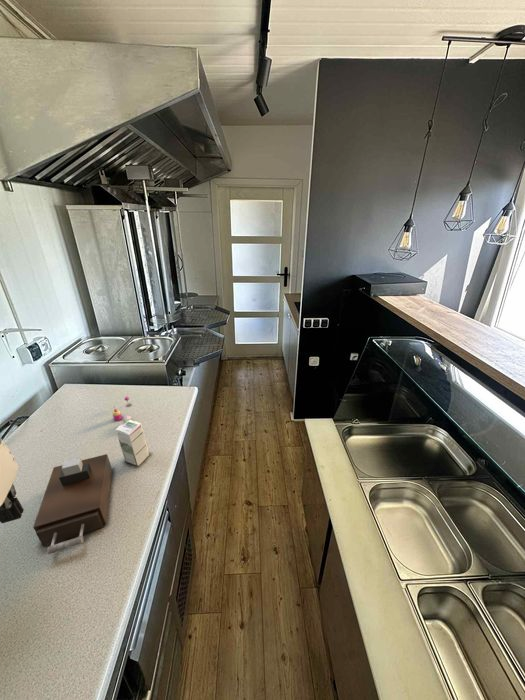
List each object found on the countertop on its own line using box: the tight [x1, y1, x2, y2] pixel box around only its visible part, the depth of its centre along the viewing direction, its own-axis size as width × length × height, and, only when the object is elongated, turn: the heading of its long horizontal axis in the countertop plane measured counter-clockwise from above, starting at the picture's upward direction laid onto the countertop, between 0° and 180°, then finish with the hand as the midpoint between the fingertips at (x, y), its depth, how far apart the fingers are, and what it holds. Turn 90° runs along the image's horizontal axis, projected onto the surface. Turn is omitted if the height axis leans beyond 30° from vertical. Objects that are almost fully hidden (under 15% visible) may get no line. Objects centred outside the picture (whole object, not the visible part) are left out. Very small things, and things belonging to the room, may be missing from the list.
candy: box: [112, 396, 132, 422], centre depth 116 cm, size 18×8×6 cm, turn 36°
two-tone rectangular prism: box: [59, 456, 91, 485], centre depth 82 cm, size 7×3×6 cm, turn 111°
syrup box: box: [115, 419, 150, 467], centre depth 95 cm, size 6×6×14 cm
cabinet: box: [32, 453, 113, 533], centre depth 82 cm, size 20×15×7 cm
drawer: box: [35, 510, 104, 555], centre depth 78 cm, size 24×13×5 cm, turn 21°
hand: (13, 516), depth 56 cm, fingers closed
